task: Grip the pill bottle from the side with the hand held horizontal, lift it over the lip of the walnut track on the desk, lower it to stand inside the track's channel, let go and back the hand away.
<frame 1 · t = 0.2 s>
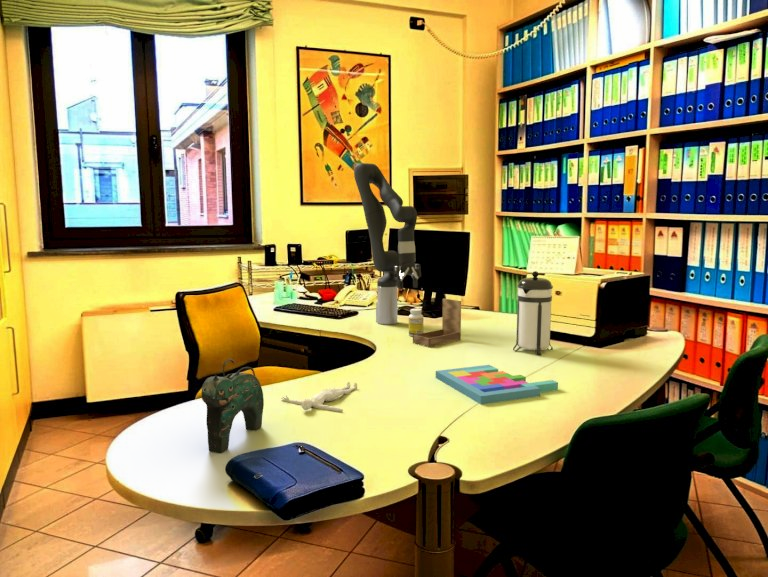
hand: (408, 288, 274), 17 cm above the table, tool pointing down, fingers open, 8 cm apart
coffee press: (533, 350, 234), on the table
figure model: (326, 401, 176), on the table
tetris game: (497, 387, 189), on the table
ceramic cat: (234, 440, 146), on the table
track: (436, 341, 248), on the table
pill bottle: (415, 335, 259), on the table
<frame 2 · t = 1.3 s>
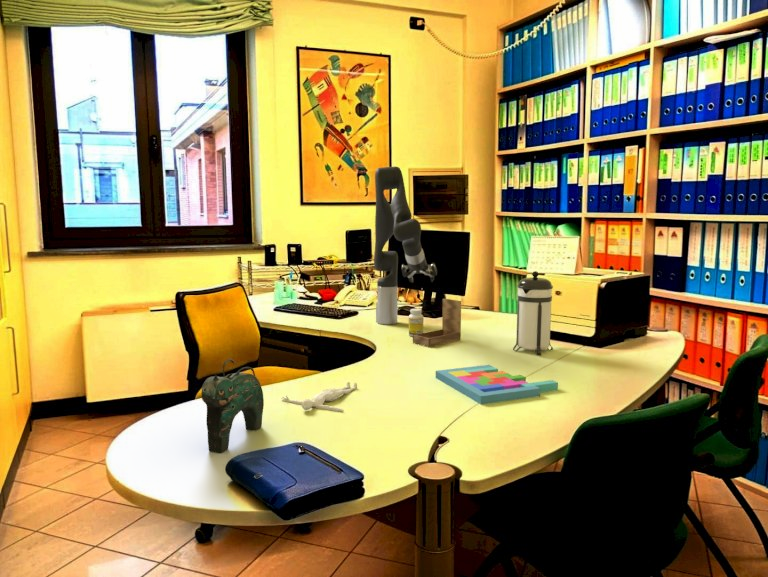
hand: (422, 280, 262), 22 cm above the table, tool tilted 45°, fingers open, 8 cm apart
nothing on the table moved.
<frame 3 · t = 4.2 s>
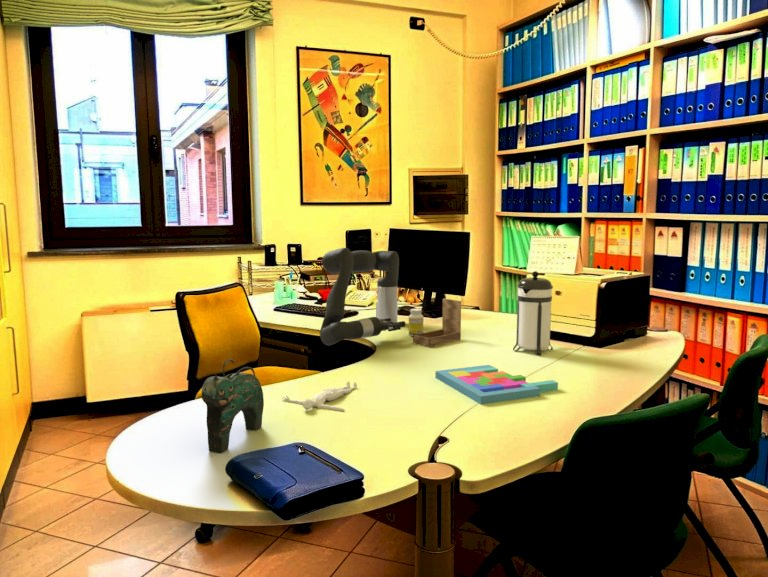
hand: (397, 322, 251), 7 cm above the table, tool horizontal, fingers open, 8 cm apart
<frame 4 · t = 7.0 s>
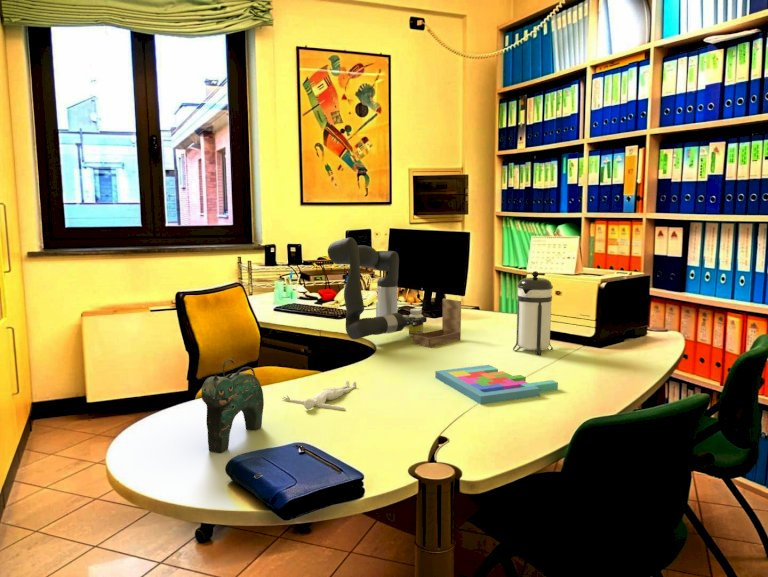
hand: (420, 318, 260), 7 cm above the table, tool horizontal, fingers closed on pill bottle, 6 cm apart
pill bottle: (415, 335, 259), on the table, touching gripper
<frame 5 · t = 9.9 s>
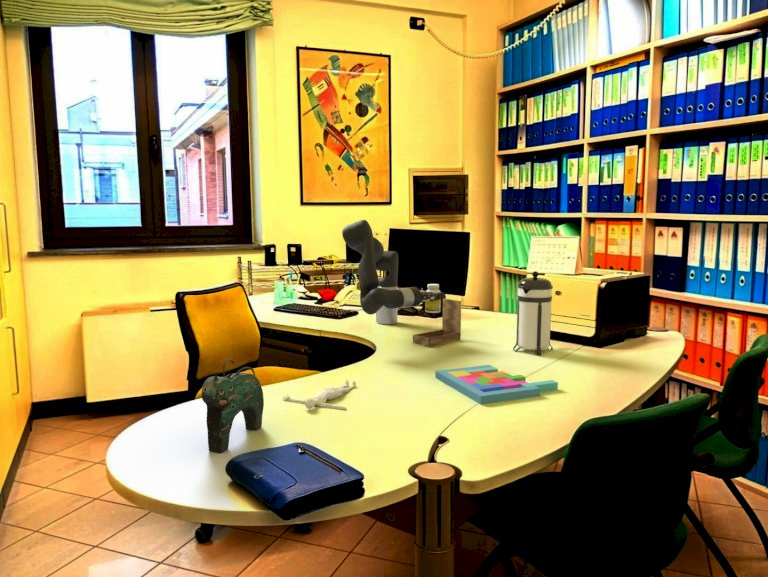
hand: (437, 294, 248), 19 cm above the table, tool horizontal, fingers closed on pill bottle, 6 cm apart
pill bottle: (432, 312, 247), point 12 cm above the table, touching gripper
when the fingers open (9 cm above the table, at t = 13.1 s): pill bottle stays where it is, resting on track.
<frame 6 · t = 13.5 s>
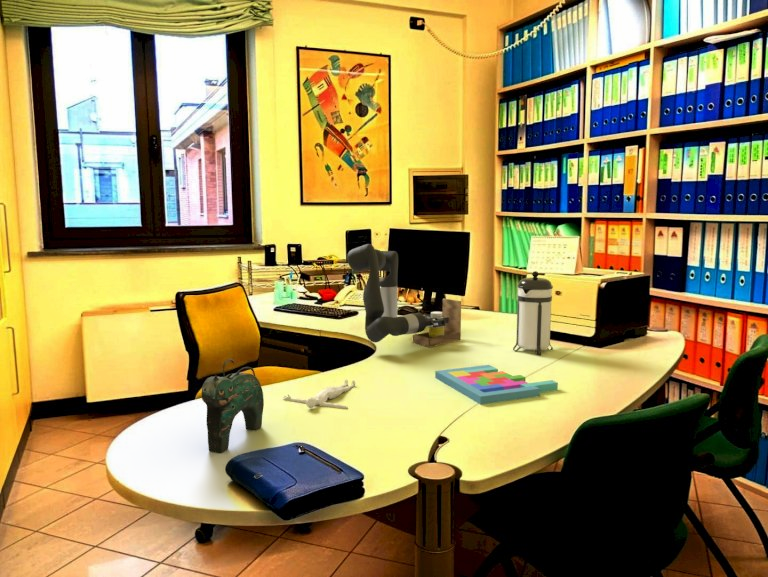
hand: (440, 318, 248), 9 cm above the table, tool horizontal, fingers open, 8 cm apart
pill bottle: (436, 340, 247), point 1 cm above the table, touching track
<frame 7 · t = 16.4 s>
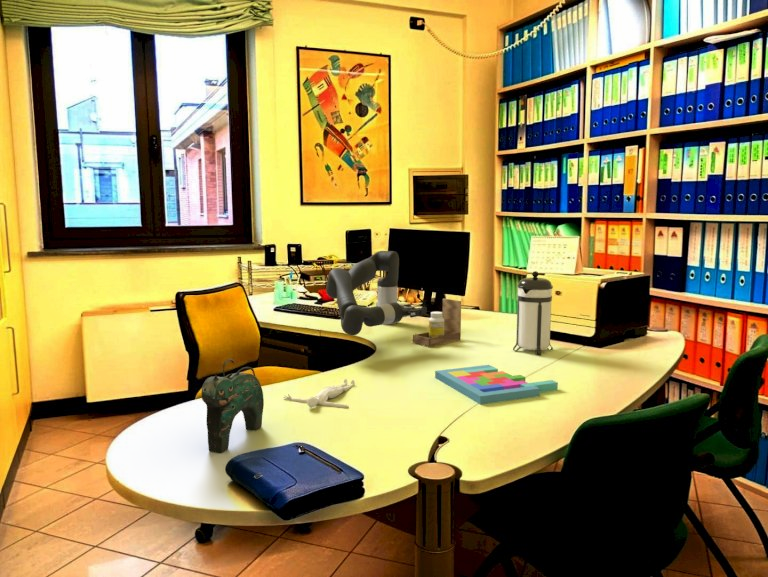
hand: (418, 308, 240), 15 cm above the table, tool horizontal, fingers open, 8 cm apart
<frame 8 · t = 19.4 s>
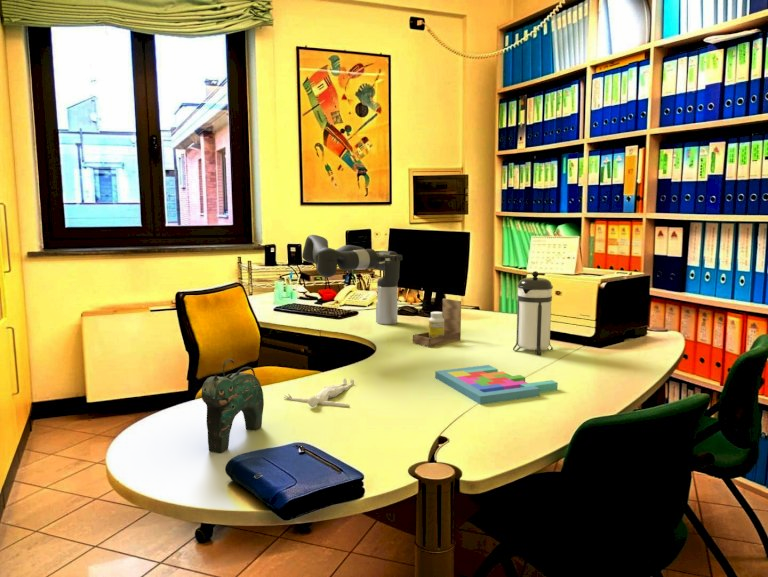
hand: (394, 256, 244), 34 cm above the table, tool horizontal, fingers open, 8 cm apart
at the end: pill bottle inside the target area on the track (0.1 cm from its centre), point 0.6 cm above the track's base; pill bottle tilted 0°; the gripper is holding nothing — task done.
